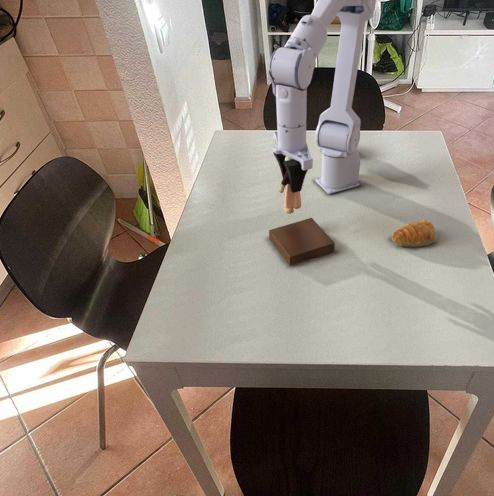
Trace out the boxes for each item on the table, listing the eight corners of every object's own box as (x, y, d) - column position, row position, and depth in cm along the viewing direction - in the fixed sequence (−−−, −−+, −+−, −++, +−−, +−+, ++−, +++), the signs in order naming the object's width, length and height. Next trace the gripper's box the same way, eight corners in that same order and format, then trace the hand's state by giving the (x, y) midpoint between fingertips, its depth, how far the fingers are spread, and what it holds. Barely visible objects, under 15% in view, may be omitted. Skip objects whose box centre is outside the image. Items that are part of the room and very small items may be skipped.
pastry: (399, 253, 94) (402, 238, 92) (385, 236, 99) (388, 221, 96) (436, 244, 96) (441, 229, 93) (421, 228, 100) (425, 213, 98)
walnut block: (311, 226, 102) (311, 217, 100) (334, 252, 95) (334, 242, 93) (269, 239, 99) (268, 230, 97) (289, 266, 92) (289, 256, 90)
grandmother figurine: (291, 218, 94) (291, 163, 85) (277, 213, 96) (275, 158, 86) (309, 201, 99) (310, 147, 89) (294, 196, 100) (295, 142, 90)
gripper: (258, 112, 86) (262, 176, 97) (289, 141, 78) (290, 208, 88) (289, 106, 88) (291, 169, 98) (323, 133, 79) (320, 199, 90)
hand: (292, 187), depth 93 cm, fingers closed on grandmother figurine, 3 cm apart
